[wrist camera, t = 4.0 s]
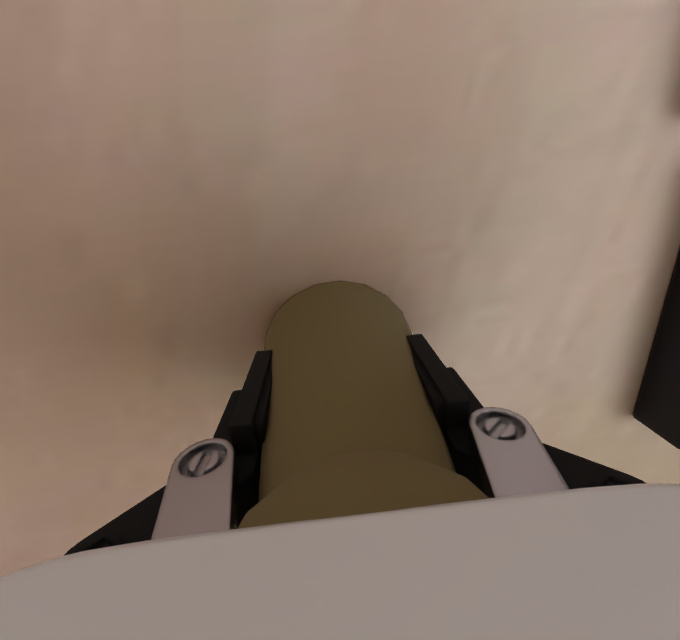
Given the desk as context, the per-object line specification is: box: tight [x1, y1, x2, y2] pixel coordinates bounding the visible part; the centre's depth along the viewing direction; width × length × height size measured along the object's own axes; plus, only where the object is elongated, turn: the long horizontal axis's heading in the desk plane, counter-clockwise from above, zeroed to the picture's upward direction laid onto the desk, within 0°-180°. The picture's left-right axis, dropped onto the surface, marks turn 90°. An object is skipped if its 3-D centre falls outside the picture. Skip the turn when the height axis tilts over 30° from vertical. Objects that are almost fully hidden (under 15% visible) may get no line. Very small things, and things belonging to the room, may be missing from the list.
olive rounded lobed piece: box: [237, 281, 489, 529], centre depth 8 cm, size 6×6×11 cm
